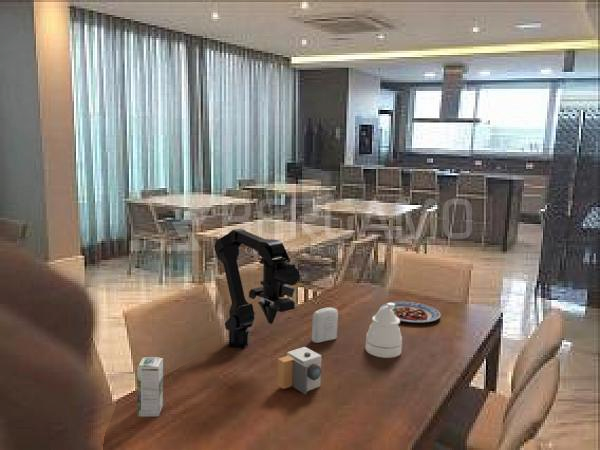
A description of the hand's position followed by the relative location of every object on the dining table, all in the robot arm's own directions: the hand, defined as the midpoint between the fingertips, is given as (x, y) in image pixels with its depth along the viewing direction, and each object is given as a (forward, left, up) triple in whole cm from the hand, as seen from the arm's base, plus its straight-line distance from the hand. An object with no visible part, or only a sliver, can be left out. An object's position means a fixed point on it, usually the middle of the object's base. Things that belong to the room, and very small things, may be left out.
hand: (270, 323), depth 168 cm
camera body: (+14, -14, -13) cm, 24 cm away
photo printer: (+16, +22, -13) cm, 30 cm away
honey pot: (+38, +18, -13) cm, 44 cm away
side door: (+11, -20, -12) cm, 26 cm away
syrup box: (-24, -39, -13) cm, 48 cm away
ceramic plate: (+49, +58, -14) cm, 77 cm away
